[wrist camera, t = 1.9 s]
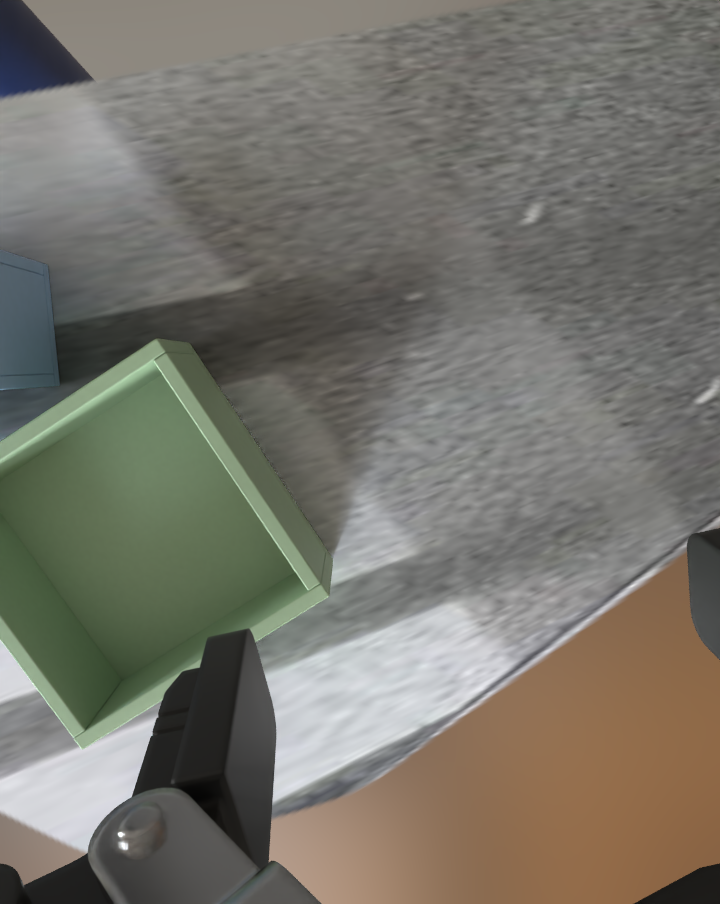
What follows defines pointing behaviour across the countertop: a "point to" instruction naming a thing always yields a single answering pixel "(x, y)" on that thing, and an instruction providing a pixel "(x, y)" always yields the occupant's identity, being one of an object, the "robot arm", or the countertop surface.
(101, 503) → the green tote
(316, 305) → the countertop surface
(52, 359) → the small bin
